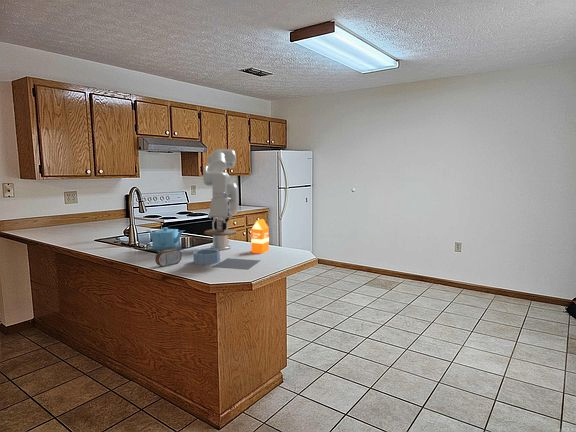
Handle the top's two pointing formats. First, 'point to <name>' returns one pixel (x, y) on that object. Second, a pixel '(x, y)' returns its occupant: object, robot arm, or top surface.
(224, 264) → the mat
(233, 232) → the lid
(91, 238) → the top surface
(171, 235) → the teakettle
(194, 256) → the bowl
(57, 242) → the top surface
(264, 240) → the orange juice
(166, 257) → the tin
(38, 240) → the top surface
